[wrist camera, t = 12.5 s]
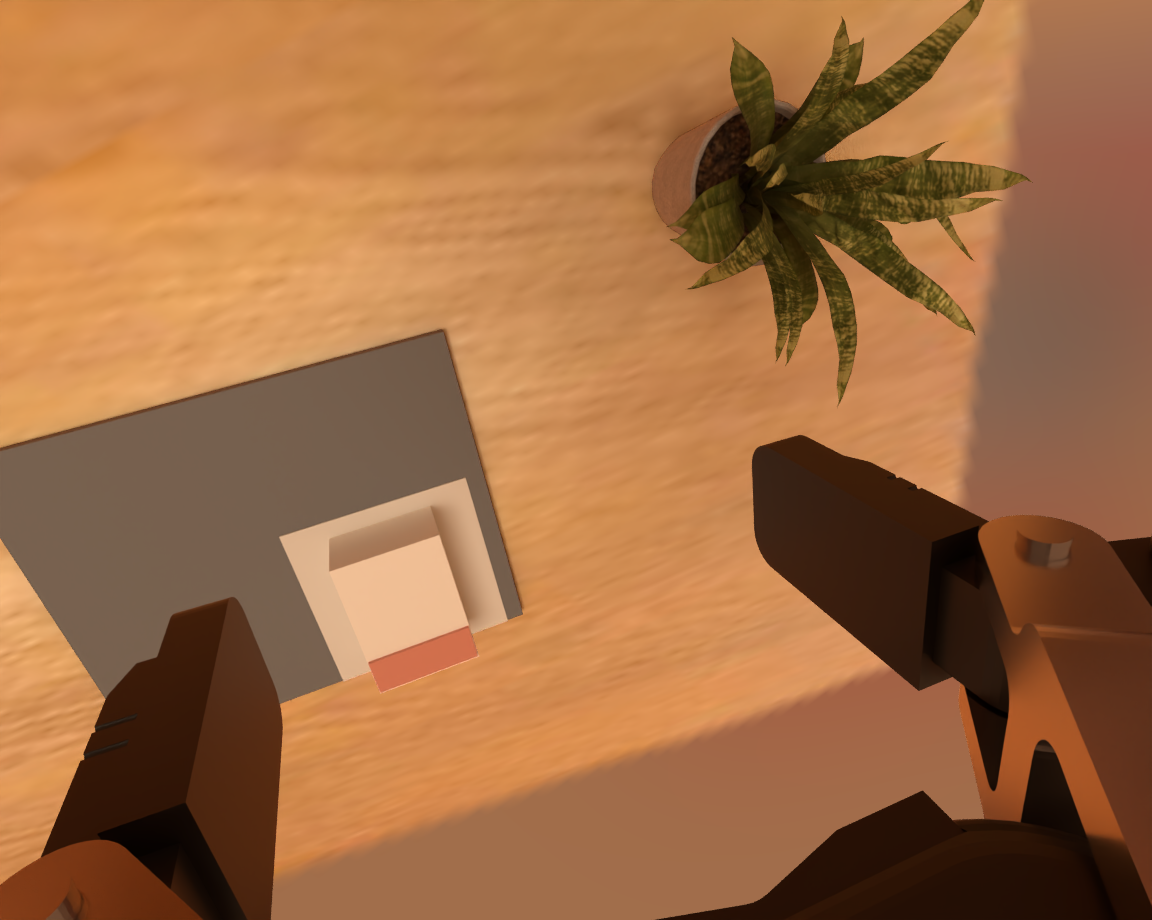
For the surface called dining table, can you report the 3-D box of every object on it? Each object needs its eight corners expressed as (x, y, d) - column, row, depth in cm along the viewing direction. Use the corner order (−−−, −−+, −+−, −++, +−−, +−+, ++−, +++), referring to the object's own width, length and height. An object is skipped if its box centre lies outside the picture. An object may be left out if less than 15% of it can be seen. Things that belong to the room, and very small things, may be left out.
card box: (329, 538, 37) (329, 573, 33) (430, 505, 38) (439, 536, 34) (376, 653, 40) (380, 696, 37) (467, 620, 41) (479, 658, 38)
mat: (144, 746, 38) (141, 755, 38) (-42, 459, 30) (-49, 465, 30) (520, 608, 43) (523, 615, 42) (441, 329, 35) (443, 332, 35)
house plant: (622, 382, 39) (789, 499, 25) (504, 145, 33) (639, 121, 19) (824, 255, 41) (1094, 298, 26) (749, 2, 34) (1053, -124, 20)
